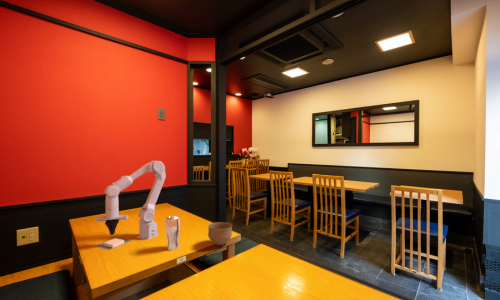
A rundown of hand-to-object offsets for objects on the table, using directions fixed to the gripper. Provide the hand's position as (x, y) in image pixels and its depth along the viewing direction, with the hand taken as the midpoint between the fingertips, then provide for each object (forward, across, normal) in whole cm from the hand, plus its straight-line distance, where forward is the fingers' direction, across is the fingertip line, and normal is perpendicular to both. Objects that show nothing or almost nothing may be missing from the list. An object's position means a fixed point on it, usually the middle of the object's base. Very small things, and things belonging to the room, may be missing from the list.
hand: (112, 234), depth 110 cm
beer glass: (+6, -32, +10) cm, 34 cm away
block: (+4, +2, -1) cm, 5 cm away
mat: (+6, 0, -1) cm, 6 cm away
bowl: (+6, -56, +11) cm, 57 cm away
